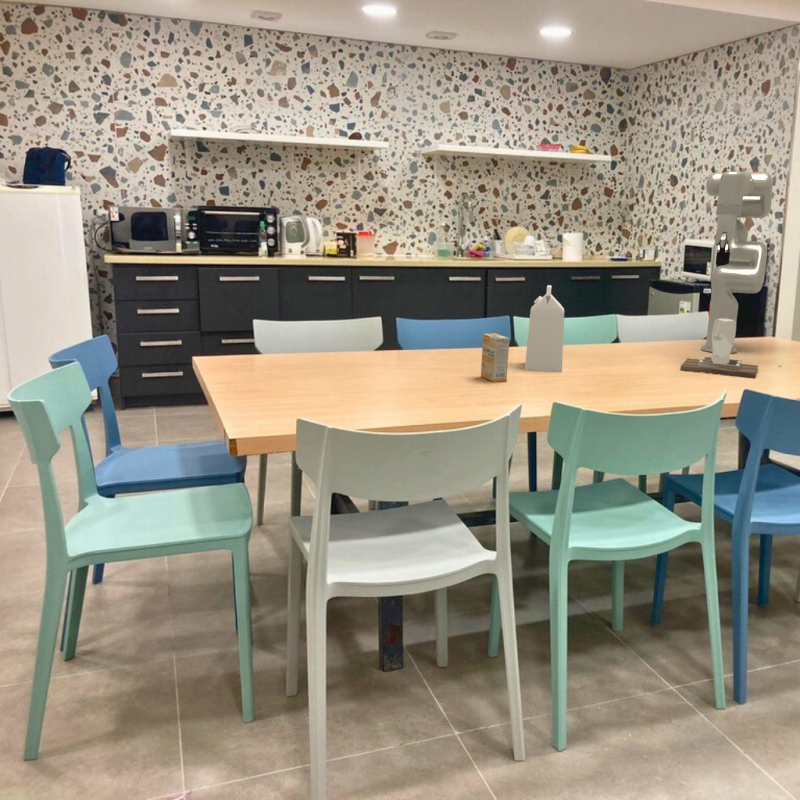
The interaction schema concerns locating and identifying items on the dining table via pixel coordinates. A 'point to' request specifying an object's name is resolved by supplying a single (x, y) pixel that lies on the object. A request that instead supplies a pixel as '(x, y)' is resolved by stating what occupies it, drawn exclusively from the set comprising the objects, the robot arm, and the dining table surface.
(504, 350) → the supplement box
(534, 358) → the milk
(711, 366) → the walnut board
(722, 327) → the beer glass
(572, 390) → the dining table surface
